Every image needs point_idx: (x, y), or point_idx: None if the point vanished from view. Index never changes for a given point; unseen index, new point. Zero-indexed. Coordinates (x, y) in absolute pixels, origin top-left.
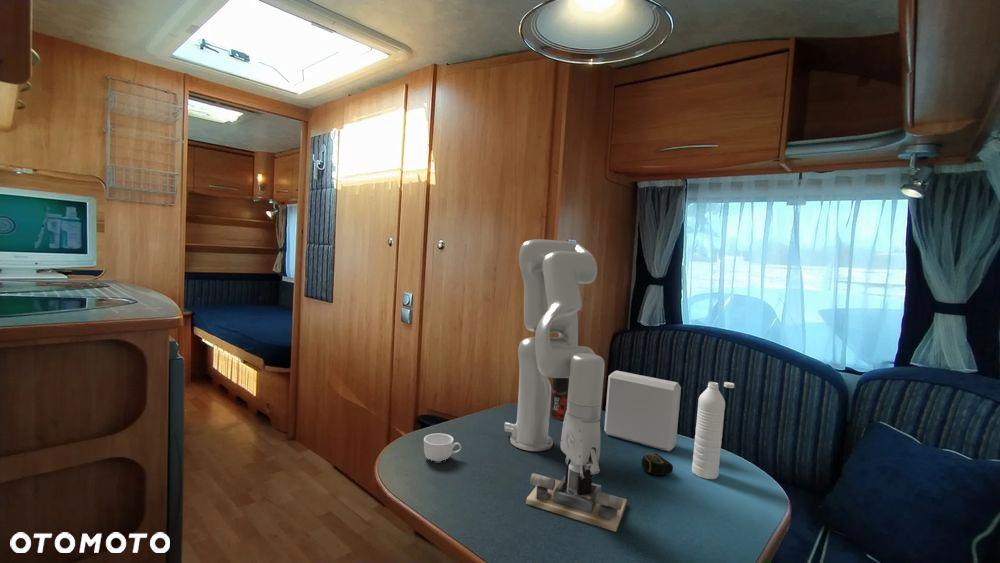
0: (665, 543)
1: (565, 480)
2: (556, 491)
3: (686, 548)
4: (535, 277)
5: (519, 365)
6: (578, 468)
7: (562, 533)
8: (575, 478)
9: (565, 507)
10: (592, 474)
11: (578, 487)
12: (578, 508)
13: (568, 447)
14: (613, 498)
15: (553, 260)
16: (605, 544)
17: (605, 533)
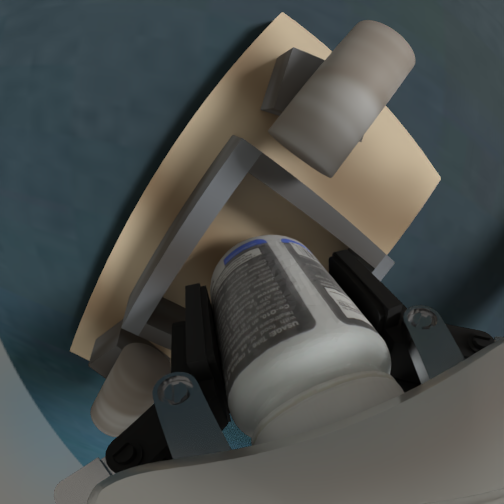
0: (68, 411)
1: (343, 251)
2: (245, 159)
3: (67, 430)
4: None
5: None
6: (261, 404)
7: (36, 141)
8: (236, 328)
9: (178, 190)
10: (105, 463)
11: (188, 311)
12: (155, 253)
13: (461, 496)
14: (106, 416)
15: None
16: (8, 284)
17: (59, 305)
